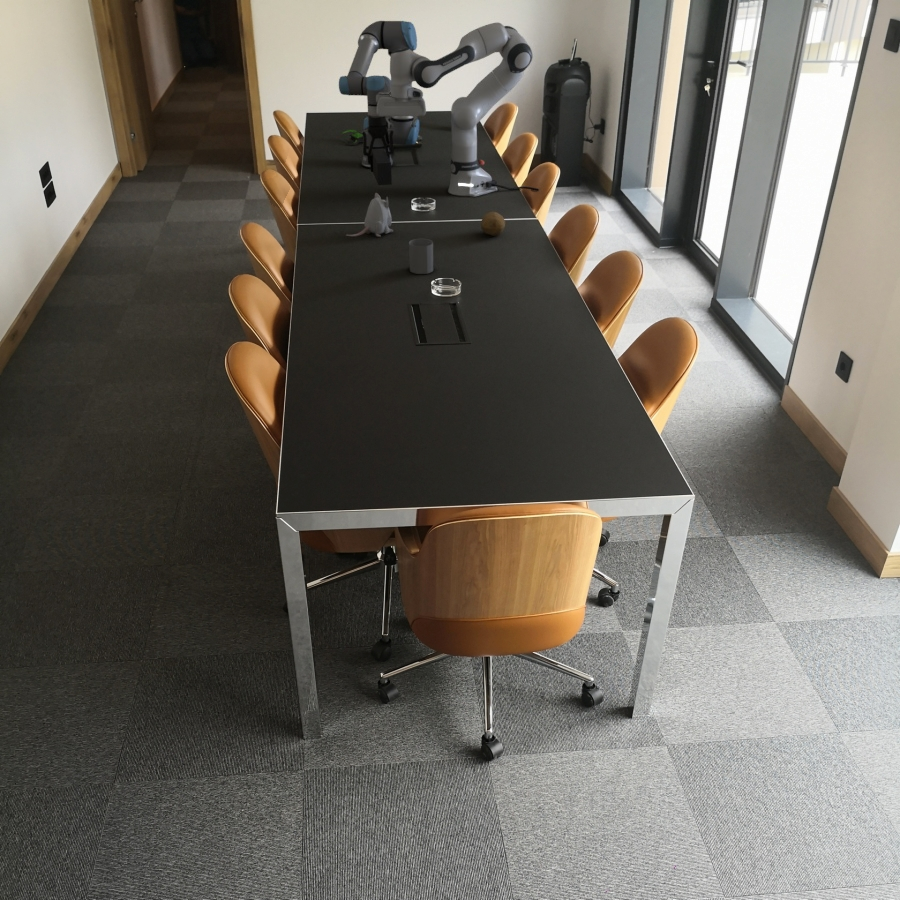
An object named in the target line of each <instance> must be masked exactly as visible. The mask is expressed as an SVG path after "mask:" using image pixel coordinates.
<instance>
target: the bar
mask: <svg viewBox="0 0 900 900" xmlns="http://www.w3.org/2000/svg"><path fill="white" fill-rule="evenodd" d="M371 155H372V159H373V172H372V173H373V176H374V178H375V182H376V183H377V186H388V185H389V186H390V185H391V186H392V184H393V181H392V180H393V179H392V175H393V174H392V166H391V162H390V160H389V158H388V156H387V154H386V152H385V149H372V152H371Z"/></svg>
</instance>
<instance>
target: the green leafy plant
mask: <svg viewBox="0 0 900 900" xmlns="http://www.w3.org/2000/svg"><path fill="white" fill-rule="evenodd" d="M349 132H352V133H351V134H349V136H350V138H349V140H350V141H353V142H348V141H345V140H342V139H340V142H342V143H344V144H345V145H349V146H356V145H358V144H360V143H363V134H362V132H359V131H358V130H357V129H346V130H345V131H342V132H340V134H345V133H349Z"/></svg>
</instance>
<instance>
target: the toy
mask: <svg viewBox="0 0 900 900" xmlns="http://www.w3.org/2000/svg"><path fill="white" fill-rule="evenodd" d="M389 205H390V204H389V198H388V196H386V199H382V198H381V196H380V195H379V193H378V192H375V193H374V198H372V199H371V200H370V202H369V205H368V207H367V211H366V215H365V217H364V223H363V225H364V229H362V230H361V231H359V232H358V233H354V234H346V236H348V237H359V236H362V235H363V234H365V233H366V234H371V233H372V234H374V235H375V237H378V238H382V236H381V235H382V234H383V233H384V234H385V235H387V234H389V233H394V230H393V228H390V227H391V226H392V220H393V219H392V218H393V217H392V214H391V211H390V206H389Z"/></svg>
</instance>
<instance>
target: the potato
mask: <svg viewBox="0 0 900 900" xmlns="http://www.w3.org/2000/svg"><path fill="white" fill-rule="evenodd" d="M505 226H506V220H505V218H504V217H503V215H501V214H500V213H498V212H496V211H490V212H487V213H485V214H484V215H483V217H482V218H481V222H480V229H481V231H482V232H483V233H485V234H486V235H489V236H491V237H493V236H498V235H499V234H502V233H503V232H504V229H505Z"/></svg>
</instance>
